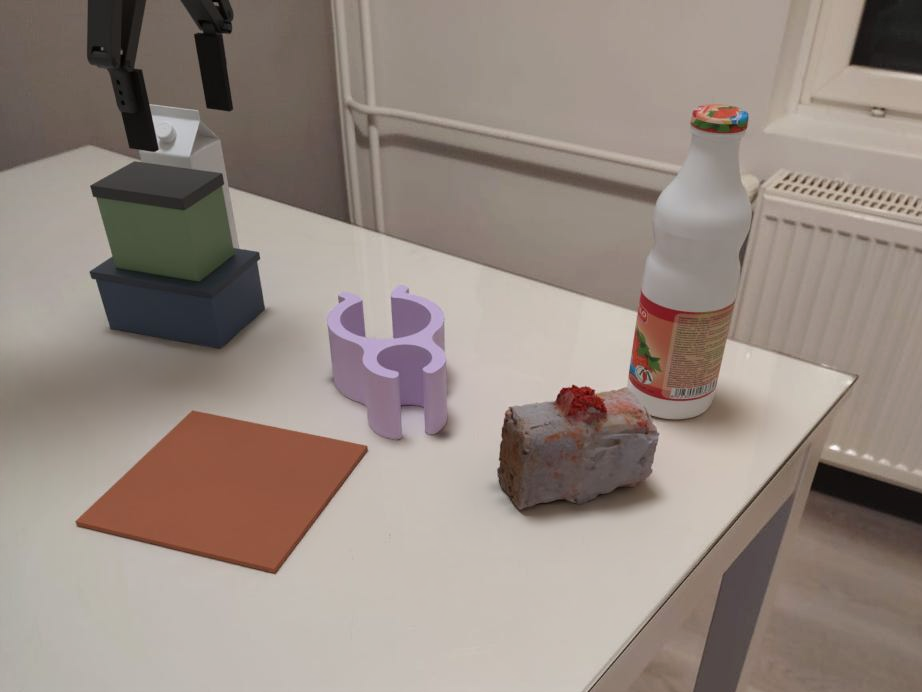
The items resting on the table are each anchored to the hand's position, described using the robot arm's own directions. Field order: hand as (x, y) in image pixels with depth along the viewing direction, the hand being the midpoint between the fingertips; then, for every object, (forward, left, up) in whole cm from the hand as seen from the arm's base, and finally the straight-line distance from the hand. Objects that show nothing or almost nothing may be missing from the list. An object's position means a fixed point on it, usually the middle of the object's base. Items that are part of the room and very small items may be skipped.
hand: (184, 128), depth 88 cm
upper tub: (-8, +5, -16) cm, 19 cm away
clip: (+22, -2, -23) cm, 32 cm away
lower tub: (-8, +5, -23) cm, 25 cm away
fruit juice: (+51, +6, -23) cm, 56 cm away
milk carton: (-14, +19, -23) cm, 33 cm away
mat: (+14, -24, -23) cm, 36 cm away
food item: (+45, -13, -23) cm, 52 cm away
